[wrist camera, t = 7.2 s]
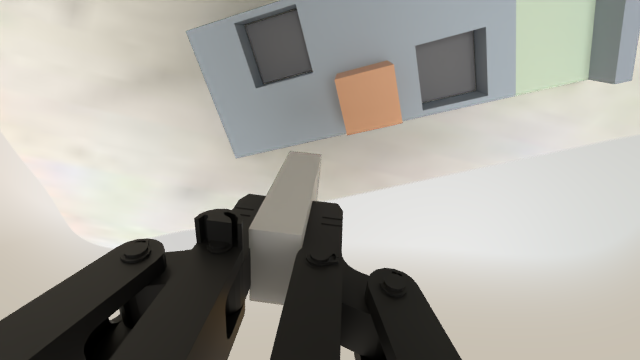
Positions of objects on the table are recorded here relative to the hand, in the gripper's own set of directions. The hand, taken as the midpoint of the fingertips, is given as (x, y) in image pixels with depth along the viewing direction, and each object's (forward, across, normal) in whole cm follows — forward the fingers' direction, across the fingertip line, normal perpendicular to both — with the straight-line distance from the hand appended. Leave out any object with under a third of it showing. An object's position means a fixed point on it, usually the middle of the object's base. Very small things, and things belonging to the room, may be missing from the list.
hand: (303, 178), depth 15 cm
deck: (+15, +4, +6) cm, 16 cm away
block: (+12, +3, +3) cm, 13 cm away
